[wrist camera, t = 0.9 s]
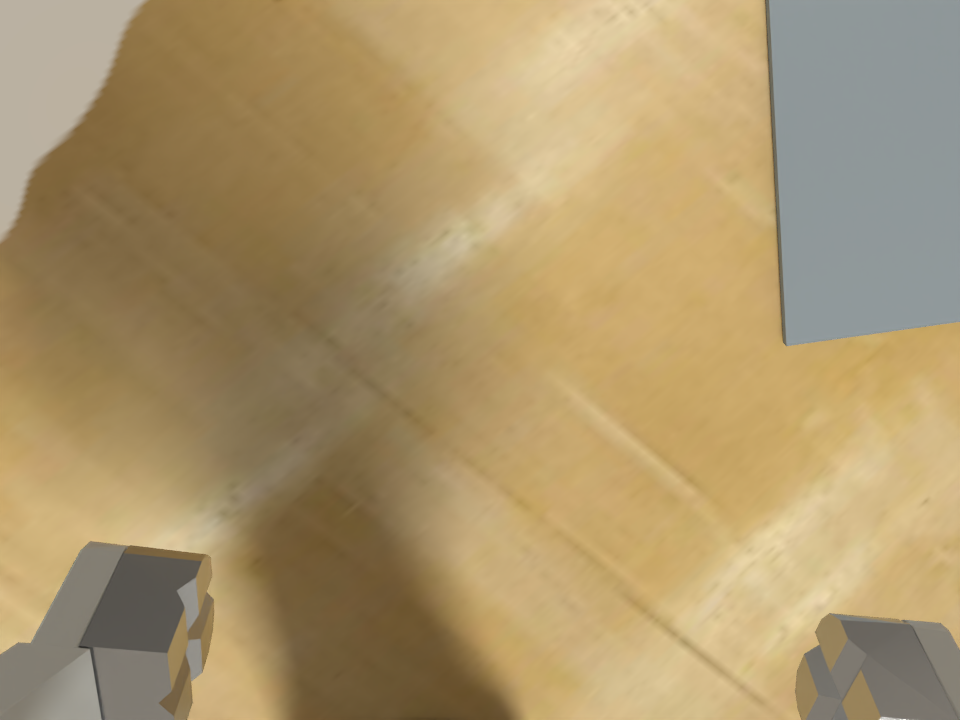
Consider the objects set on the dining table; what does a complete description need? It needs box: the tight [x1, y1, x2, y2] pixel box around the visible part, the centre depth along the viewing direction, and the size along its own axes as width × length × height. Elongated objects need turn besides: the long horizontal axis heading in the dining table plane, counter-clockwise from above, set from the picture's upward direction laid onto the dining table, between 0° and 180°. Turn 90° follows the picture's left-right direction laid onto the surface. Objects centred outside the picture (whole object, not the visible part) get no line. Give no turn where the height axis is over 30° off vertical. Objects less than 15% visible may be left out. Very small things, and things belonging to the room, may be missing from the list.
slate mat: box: [766, 0, 960, 346], centre depth 45 cm, size 20×18×1 cm
